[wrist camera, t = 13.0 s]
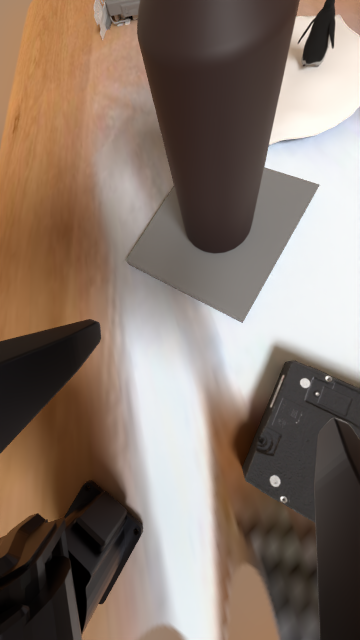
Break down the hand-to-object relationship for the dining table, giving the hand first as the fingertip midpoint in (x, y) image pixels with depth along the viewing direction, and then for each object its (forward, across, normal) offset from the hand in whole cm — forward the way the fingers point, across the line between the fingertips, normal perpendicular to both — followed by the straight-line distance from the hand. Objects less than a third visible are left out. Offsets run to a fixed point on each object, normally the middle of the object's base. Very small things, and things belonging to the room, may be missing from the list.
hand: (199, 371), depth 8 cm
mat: (+20, +5, -1) cm, 20 cm away
